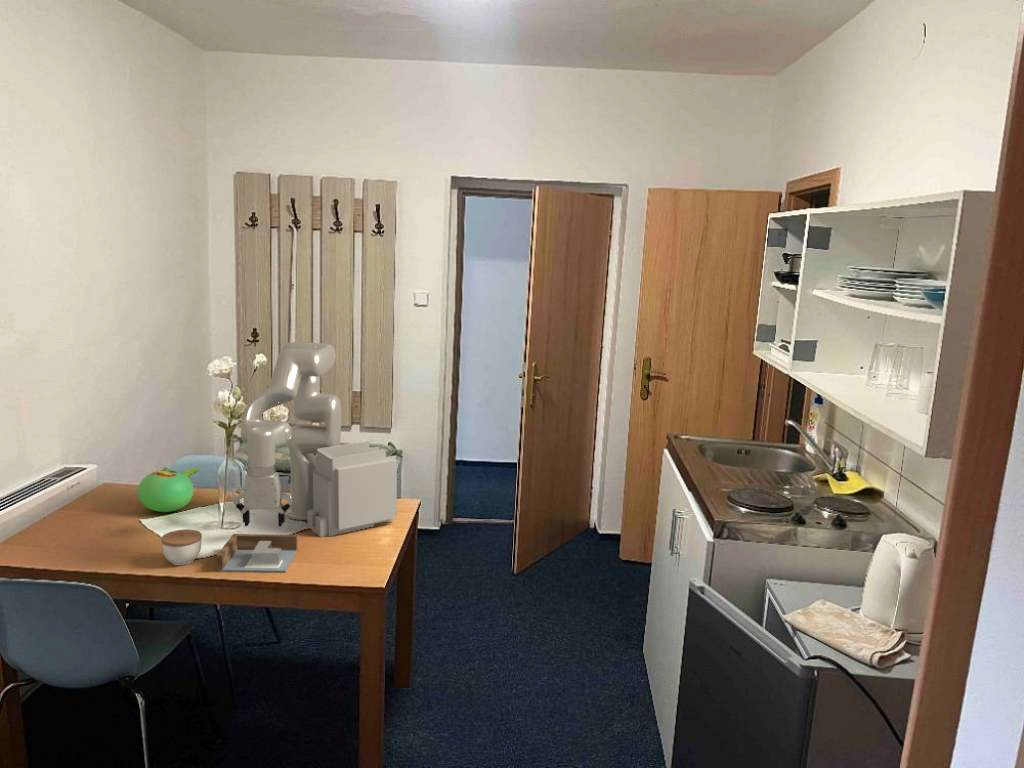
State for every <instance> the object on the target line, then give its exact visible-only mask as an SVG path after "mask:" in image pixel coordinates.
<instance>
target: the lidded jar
mask: <svg viewBox="0 0 1024 768" xmlns="http://www.w3.org/2000/svg"><path fill="white" fill-rule="evenodd" d="M160 540H161V547H162V553H163V556H164V557H165V558H166V560H167V561H168V562H170V563H171V564H172V565H173V564H174V566H185V564H187V565H189V563H190V564H192V563H193V562H194V561H195V559H197V557H198V556H199V554H200V552H201V548H202V532H201V531H199V530H196V529H189V528H188V529H186V528H185V529H177V530H173V531H169V532H167V533H165V534H164V535H162V536H161V539H160ZM193 560H194V561H193ZM191 562H192V563H191Z"/></svg>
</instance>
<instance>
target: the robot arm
mask: <svg viewBox="0 0 1024 768" xmlns="http://www.w3.org/2000/svg"><path fill="white" fill-rule="evenodd" d="M336 357H337V355H336V349H335V347H334V346H333V345H332V344H330V343H324V342H323V343H320V342H318V343H317V342H305V341H304V342H302V341H292V342H291V341H290V342H288V343H284V345H283V346H282V350H281V351H280V352H279V353H278V356H277V359H276V362H275V366H274V370H273V372H272V375H271V379H270V383H269V386H268V388H267V389H266V390H265V391H263V392H262V393H261V394H259V395H258V396H257V397H255V399H254V400H252V402H251V403H250V404H249V405H248V407H247V408H246V410H245V414H244V415H243V416H244V417H243V420H242V423H241V428H240V437H241V440H242V441H243V442H244V443H245V444H247V464H246V465H243V467H242V470H243V471H247V473H246V474H245V475H244V483H243V485H244V486H243V492H241V493H239V494H238V495H237V494H236V495H235V496H234V497H233V498H232V502H233V504H234V505H235V508H236V509H238V510H239V511H240V513H241V514H242V523H244V527H249V524H250V522H251V515H250V514H251V513H250V510H275V509H276V511H277V512H278V513H277V514H278V515H277V519H278V520H277V522H278V523H277V526H278V527H279V528H281V527H282V526H283V524H284V523H285V522H286V517H287V518H289V519H291V520H295V519H296V520H297V521H307V510H311V509H313V472H314V471H316V455H317V449H318V448H325V447H332V446H338V445H341V436H342V432H341V431H342V404H341V403H342V402H341V400H340V398H339V397H338V395H335V394H333V393H332V394H331V393H321V391H320V390H321V389H320V387H321V386H320V383H321V381H320V380H321V379H320V376H323V375H324V374H326V373H327V372H329V371H330V370H331V369H332V368H333V366H334V364H335V362H336ZM278 402H279V403H278ZM290 402H292V411H293V412H292V413H293V417H294V418H295V419H297V420H299V421H303V422H305V421H306V422H316V423H317V422H318V423H321V422H322V423H324V425H316V424H296V425H293V426H292V427H291V425H290V423H288V422H286V421H283V420H271V419H260V417H261V416H262V415H263V414H264V413H265V412H268V410H271V409H273V408H276V407H278V406H281V405H283V404H286V403H290ZM286 445H287V446H288V447H287V448H288V452H289V461H290V462H289V464H290V495H289V494H287V493H285V492H282V485H281V480H280V475H279V472H277V469H276V468H277V467H276V466H277V465H276V449H278V448H280V447H283V446H286ZM315 454H316V455H315ZM242 499H243V503H242V502H241V501H240V500H242ZM283 500H285V501H286V503H285V505H284V503H282V501H283ZM285 512H286V513H285ZM285 516H286V517H285Z"/></svg>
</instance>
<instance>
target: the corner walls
mask: <svg viewBox="0 0 1024 768" xmlns="http://www.w3.org/2000/svg"><path fill="white" fill-rule="evenodd" d="M259 541H272V548H281V550H297V551H298V534H269V533H268V534H267V533H265V534H262V533H233V534H232V535H231V537H230V538H229V539H228V540H227V542H226V543H225V544H224V545H223V546H222V547H221V549H220V550H219V552H218V553H217V554H216V571H217V570H223V568H224V567H225V566H226V564H227V563H228V562H229V560H230V559H231V558H232V556H233V555H234V554H235V552H236V551H237V550H254V549H255V547H256V546H257V544H258V542H259ZM220 572H221V571H220ZM220 572H219V573H220ZM221 573H222V572H221Z"/></svg>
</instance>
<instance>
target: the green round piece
mask: <svg viewBox="0 0 1024 768" xmlns="http://www.w3.org/2000/svg"><path fill="white" fill-rule="evenodd" d="M200 470H201V469H200V468H198V467H196V468H191V469H186V470H182V471H176V470H170V469H169V468H168V467H166V466H164V467H162V470H161V469H160V470H155V471H154V472H152V473H150V474H147V475H146V476H145V477H143V479H142V480H140V482H139V484H138V486H137V497H138V500H139V501H140V503H141V504H142V506H144V507H146V508H147V509H149V510H151V511H155V512H159V513H171V512H175V511H178V510H181V509H183V508H184V507H186V506H187V505H188V504H190V502H191V500H192V499H193V496H194V492H195V489H194V484H193V482H192V481H191V479H190V477H192V476H193V475H194V474H196V473H198V472H199V471H200Z"/></svg>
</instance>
